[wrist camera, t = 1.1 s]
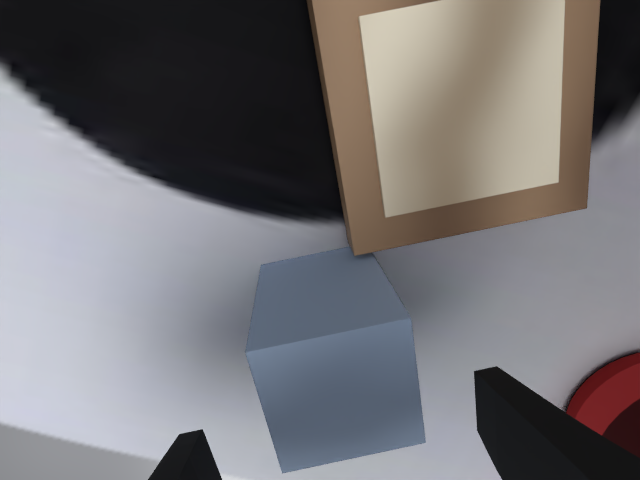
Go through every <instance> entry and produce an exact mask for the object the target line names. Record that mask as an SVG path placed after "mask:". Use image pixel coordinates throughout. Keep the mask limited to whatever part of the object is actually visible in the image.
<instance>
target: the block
mask: <svg viewBox="0 0 640 480" xmlns="http://www.w3.org/2000/svg"><path fill="white" fill-rule="evenodd" d="M245 353H246V357H247V360H248V363H249V366H250V370H251V373H252V376H253V379H254V383H255V386H256V389H257V392H258V396H259V399H260V402H261V405H262V409H263V412H264V415H265V418H266V422H267V425H268V428H269V432H270V435H271V438H272V441H273V445H274V448H275V451H276V454H277V458H278V461H279V464H280V467H281V471H282V473H286V472H291V471H295V470H300V469H305V468H310V467H314V466H319V465H324V464H328V463H333V462H338V461H342V460H347V459H352V458H356V457H361V456H366V455H370V454H375V453H380V452H384V451H389V450H394V449H399V448H403V447H408V446H413V445H417V444H422V443H426V440H425V432H424V423H423V415H422V406H421V398H420V389H419V381H418V372H417V364H416V355H415V347H414V338H413V330H412V321H411V317H410V315H409V314H408V312H407V310H406V309H405V307H404V305H403V304H402V302H401V300H400V299H399V297H398V295H397V294H396V292H395V290H394V289H393V287H392V285H391V284H390V282H389V280H388V279H387V277H386V275H385V274H384V272H383V270H382V269H381V267H380V265H379V264H378V262H377V260H376V259H375V257H374V255H373V254H372V252H371V253H366V254H361V255H356V256H354V253H353V251H352V249H351V247H346V248H341V249H336V250H331V251H326V252H322V253H317V254H312V255H307V256H302V257H297V258H292V259H287V260H282V261H278V262H273V263H268V264H263V265H261V269H260V275H259V280H258V285H257V291H256V296H255V302H254V307H253V313H252V318H251V324H250V329H249V335H248V340H247V346H246V351H245Z"/></svg>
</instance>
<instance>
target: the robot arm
mask: <svg viewBox="0 0 640 480" xmlns="http://www.w3.org/2000/svg"><path fill="white" fill-rule="evenodd" d="M474 379H475V398H476V416H477V431H478V433H479V435H480V437H481V439H482V441H483V443H484V445H485V448H486V450H487V452H488V454H489V456H490V458H491V460H492V462H493V464H494V466H495V468H496V470H497V471H498V473H499V475H500V476H501V478H502V480H640V458H639V457H637V456H636V455H634V454H632V453H630V452H629V451H627V450H625V449H624V448H622V447H620V446H618V445H617V444H615V443H613V442H612V441H610V440H608V439H607V438H605V437H603V436H602V435H600V434H598V433H597V432H595V431H594V430H592V429H590V428H589V427H587V426H586V425H584V424H582V423H581V422H579V421H578V420H576V419H575V418H573V417H572V416H570V415H568V414H567V413H565V412H564V411H562V410H561V409H559V408H558V407H556V406H555V405H553V404H552V403H550V402H549V401H547V400H546V399H544V398H543V397H541V396H540V395H538V394H537V393H535V392H534V391H532V390H531V389H529V388H528V387H526V386H525V385H523V384H522V383H521V382H519V381H518V380H516V379H515V378H513V377H512V376H510V375H509V374H507V373H506V372H504V371H503V370H501V369H500V368H498V367H497V366H496V367H492V368H487V369H482V370H478V371H474ZM148 480H222V478H221V476H220V473H219V470H218V468H217V465H216V463H215V460H214V458H213V455H212V452H211V450H210V447H209V445H208V442H207V439H206V437H205V434H204V432H203V429H202V430H197V431H192V432H188V433H183V434H179V436H178V437H177V438H176V440H175V441H174V443H173V444H172V445H171V447H170V448H169V450H168V451H167V453H166V454H165V456H164V457H163V458H162V460H161V461H160V463H159V464H158V466H157V467H156V469H155V470H154V472H153V473H152V475H151V476H150V478H149V479H148Z"/></svg>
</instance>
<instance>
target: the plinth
mask: <svg viewBox="0 0 640 480" xmlns="http://www.w3.org/2000/svg"><path fill="white" fill-rule="evenodd" d="M307 5H308V10H309V16H310V22H311V28H312V34H313V40H314V45H315V51H316V57H317V63H318V69H319V75H320V80H321V86H322V92H323V98H324V104H325V110H326V116H327V121H328V127H329V133H330V139H331V145H332V151H333V156H334V162H335V168H336V174H337V180H338V186H339V191H340V197H341V203H342V209H343V215H344V221H345V226H346V232H347V238H348V243H349V245H350V247H351V249H352V251H353V253H354V256H356V255H361V254H366V253H371V252H376V251H381V250H386V249H390V248H395V247H400V246H405V245H410V244H415V243H420V242H425V241H429V240H434V239H439V238H444V237H449V236H454V235H459V234H464V233H468V232H473V231H478V230H483V229H488V228H493V227H498V226H503V225H507V224H512V223H517V222H522V221H527V220H532V219H537V218H542V217H546V216H551V215H556V214H561V213H566V212H571V211H576V210H581V209H585V208H587V199H588V184H589V168H590V152H591V137H592V121H593V105H594V90H595V74H596V58H597V43H598V27H599V11H600V0H307Z"/></svg>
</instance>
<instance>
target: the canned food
mask: <svg viewBox="0 0 640 480" xmlns="http://www.w3.org/2000/svg"><path fill="white" fill-rule="evenodd" d="M566 413H567V414H568V415H570V416H572V417H573V418H575V419H576V420H578V421H579V422H581V423H582V424H584V425H586V426H587V427H589V428H590V429H592V430H594V431H595V432H597V433H598V434H600V435H602V436H603V437H605V438H607V439H608V440H610V441H612V442H613V443H615V444H617V445H618V446H620V447H622V448H624V449H625V450H627V451H629V452H630V453H632V454H634V455H636V456H637V457H639V458H640V353H636V354H632V355H629V356H626V357H623V358H620V359H618V360H616V361H614V362H611V363H609V364H607V365H606V366H604V367H603V368H601V369H600V370H598V371H596V372H595V373H594V374H593V375H592V376H590V377H589V378H588V379H587V380H586V381H585V382H584V383H583V384H582V385H581V386H580V388H579V389H578V390H577V391H576V393H575V395H574V396H573V398H572V399H571V401H570V403H569V406H568V409H567V411H566Z"/></svg>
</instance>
